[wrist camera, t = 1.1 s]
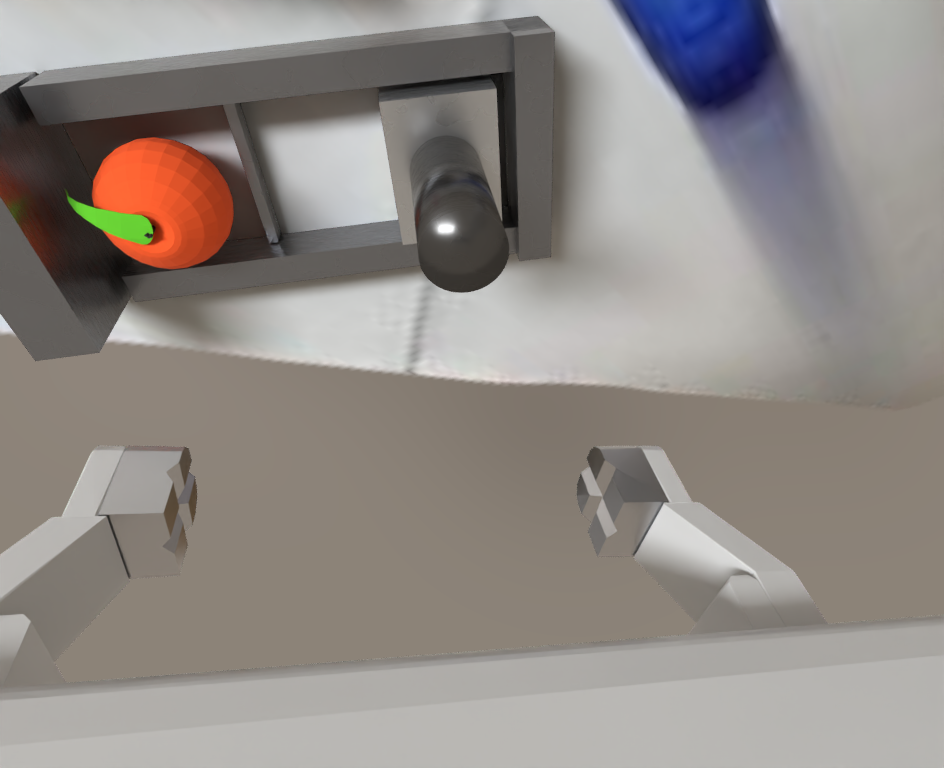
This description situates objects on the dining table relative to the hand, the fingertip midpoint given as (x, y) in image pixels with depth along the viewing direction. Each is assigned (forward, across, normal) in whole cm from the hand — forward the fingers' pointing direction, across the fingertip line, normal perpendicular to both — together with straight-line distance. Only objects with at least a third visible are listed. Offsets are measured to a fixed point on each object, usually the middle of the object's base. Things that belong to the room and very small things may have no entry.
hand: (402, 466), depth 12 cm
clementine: (+29, +11, +6) cm, 31 cm away
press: (+28, +4, +4) cm, 29 cm away
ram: (+28, -4, +2) cm, 28 cm away
